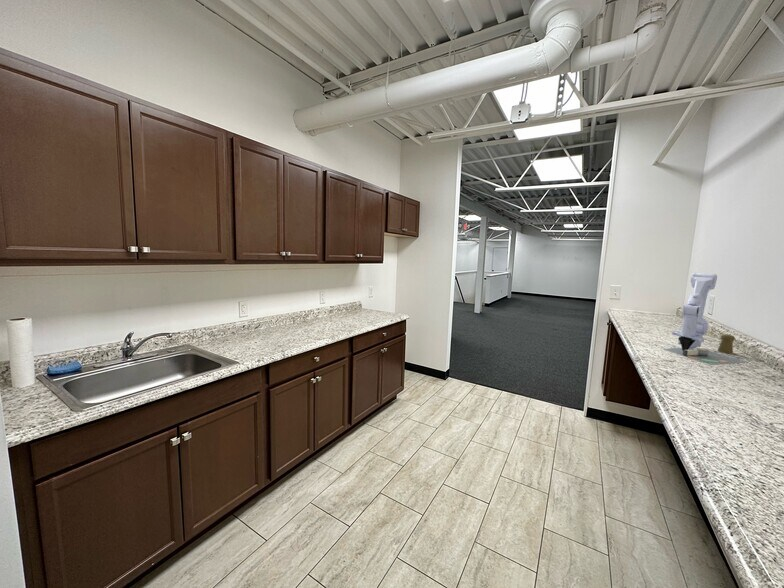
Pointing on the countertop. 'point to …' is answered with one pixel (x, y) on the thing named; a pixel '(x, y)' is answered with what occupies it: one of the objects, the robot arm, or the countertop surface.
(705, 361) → the board
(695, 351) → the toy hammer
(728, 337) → the cork
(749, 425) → the countertop surface
